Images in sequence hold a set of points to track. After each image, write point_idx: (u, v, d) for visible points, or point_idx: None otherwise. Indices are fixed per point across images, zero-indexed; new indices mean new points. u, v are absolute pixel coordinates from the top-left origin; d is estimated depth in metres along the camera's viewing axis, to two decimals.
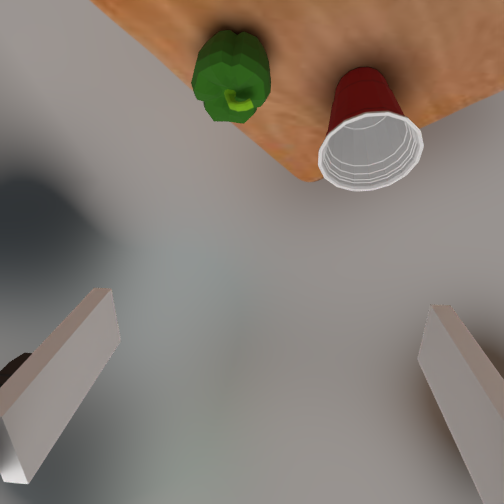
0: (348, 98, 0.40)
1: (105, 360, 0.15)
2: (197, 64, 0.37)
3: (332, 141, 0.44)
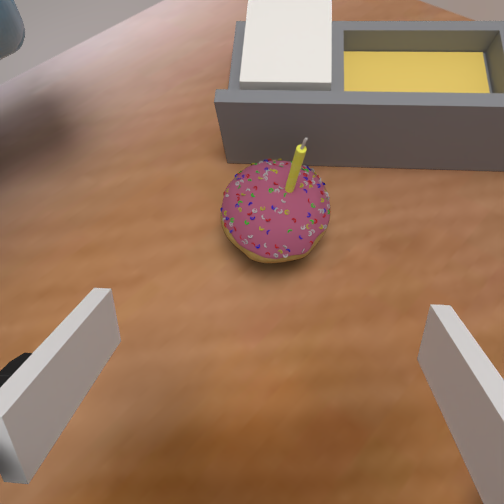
0: None
1: (105, 360, 0.15)
2: None
3: None
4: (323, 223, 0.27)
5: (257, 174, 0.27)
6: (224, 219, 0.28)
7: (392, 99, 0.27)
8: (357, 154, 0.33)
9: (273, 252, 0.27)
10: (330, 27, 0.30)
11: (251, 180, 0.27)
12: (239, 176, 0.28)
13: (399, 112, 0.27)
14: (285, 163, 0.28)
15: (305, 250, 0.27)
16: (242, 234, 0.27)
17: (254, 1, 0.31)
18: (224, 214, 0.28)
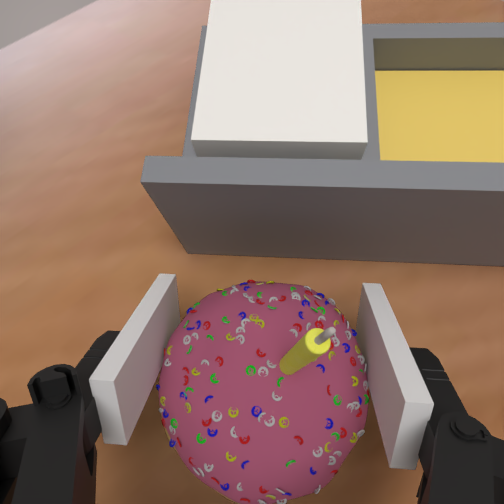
0: None
1: None
2: None
3: None
4: (357, 428, 0.13)
5: (224, 327, 0.14)
6: (161, 411, 0.14)
7: (492, 178, 0.13)
8: (403, 249, 0.19)
9: (257, 497, 0.13)
10: (360, 35, 0.16)
11: (213, 339, 0.14)
12: (192, 320, 0.15)
13: (503, 201, 0.14)
14: (280, 297, 0.15)
15: (322, 485, 0.13)
16: (193, 457, 0.13)
17: None
18: (161, 402, 0.14)
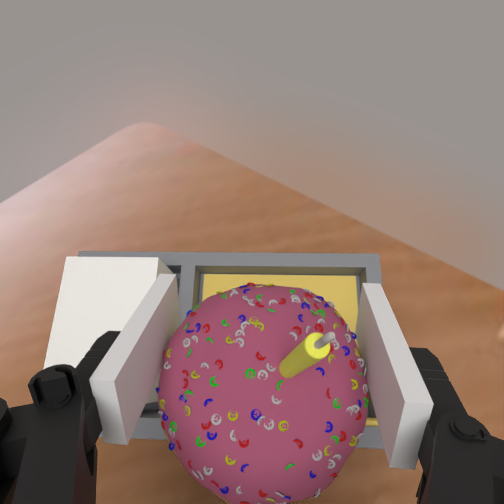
0: None
1: None
2: None
3: None
4: (357, 431, 0.13)
5: (224, 329, 0.14)
6: (161, 414, 0.14)
7: None
8: None
9: (256, 501, 0.13)
10: None
11: (212, 342, 0.14)
12: (192, 323, 0.15)
13: None
14: (280, 300, 0.15)
15: (321, 489, 0.13)
16: (193, 461, 0.13)
17: (70, 274, 0.27)
18: (161, 405, 0.14)
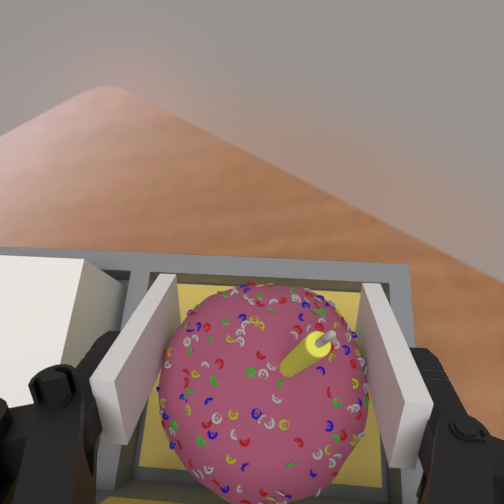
0: None
1: None
2: None
3: None
4: (357, 431, 0.13)
5: (224, 329, 0.14)
6: (161, 413, 0.14)
7: None
8: None
9: (256, 500, 0.13)
10: (61, 349, 0.17)
11: (213, 341, 0.14)
12: (192, 322, 0.15)
13: None
14: (280, 299, 0.15)
15: (322, 488, 0.13)
16: (193, 460, 0.13)
17: None
18: (161, 404, 0.14)
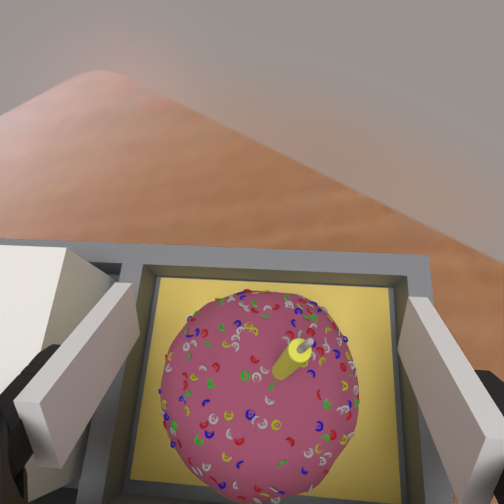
0: None
1: (126, 352, 0.16)
2: None
3: None
4: (347, 430, 0.14)
5: (220, 334, 0.15)
6: (163, 414, 0.15)
7: None
8: None
9: (252, 496, 0.14)
10: (38, 349, 0.15)
11: (210, 346, 0.15)
12: (191, 328, 0.16)
13: None
14: (274, 306, 0.15)
15: (314, 485, 0.14)
16: (192, 458, 0.14)
17: None
18: (163, 405, 0.15)
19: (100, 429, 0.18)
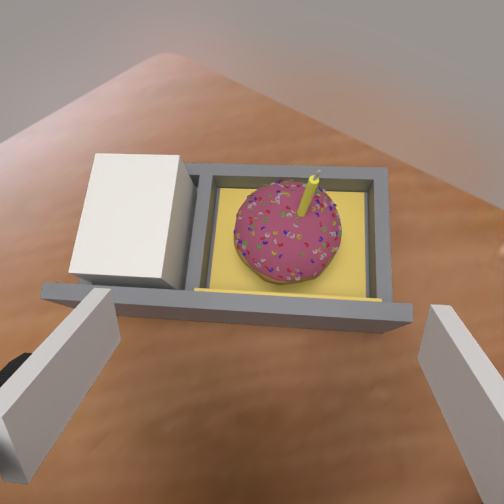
0: None
1: (105, 360, 0.15)
2: None
3: None
4: (335, 246, 0.27)
5: (269, 198, 0.28)
6: (237, 241, 0.28)
7: (219, 302, 0.25)
8: (216, 319, 0.31)
9: (285, 275, 0.27)
10: (170, 205, 0.28)
11: (263, 204, 0.28)
12: (251, 198, 0.29)
13: (230, 312, 0.26)
14: (297, 185, 0.28)
15: (317, 272, 0.27)
16: (255, 257, 0.27)
17: (98, 168, 0.30)
18: (237, 237, 0.28)
19: (194, 263, 0.31)
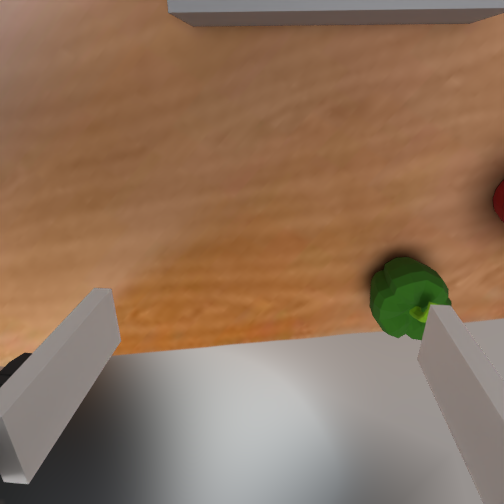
0: None
1: (105, 360, 0.15)
2: (374, 315, 0.41)
3: None
4: None
5: None
6: None
7: (340, 2, 0.28)
8: (317, 22, 0.33)
9: None
10: None
11: None
12: None
13: (347, 11, 0.28)
14: None
15: None
16: None
17: None
18: None
19: None
